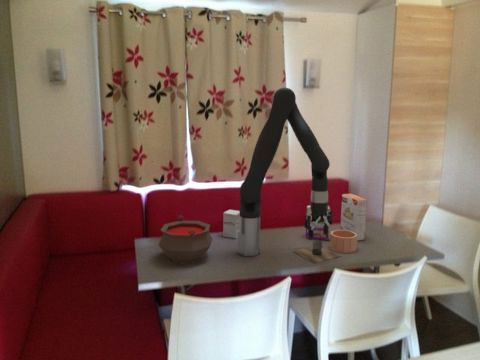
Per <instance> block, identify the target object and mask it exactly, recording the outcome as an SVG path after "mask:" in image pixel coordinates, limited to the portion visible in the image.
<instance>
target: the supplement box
mask: <svg viewBox="0 0 480 360" xmlns="http://www.w3.org/2000/svg"><path fill="white" fill-rule="evenodd" d="M222 214H223V215H222V216H223V222H222V223H223V225H222V226H223V227H222V231H223V232H222V236H223V237H225V238H232V239H238V232H239V231H240V210H235V209H228V210H225V211H224V212H223V213H222Z"/></svg>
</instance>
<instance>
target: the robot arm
mask: <svg viewBox="0 0 480 360" xmlns="http://www.w3.org/2000/svg"><path fill="white" fill-rule="evenodd" d="M296 99H297V98H296V94H295V91H293V90H292V89H291V88H289V87H281V88H279V89H277V90H276V91H275V92H274V94H273V97H272V104H271V107H270V111H269V115H268V118H267V120H266V122H265V123H264V125H263V128H262V129H261V131H260V134H259V136H258V138H257V141H256V144H255V146H254V148H253V149H254V150H253V153H252V156H251V161H250V166H249V169H248V172H247V174H246V176H245V178H244V181H243V182H242V183H241V185H240V187H239V191H238V192H239V193H238V194H239V197H240V198H239V199H240V200H239V203H240V204H239V211H240V231H239V232H238V237H237V253H239V254H240V255H242V256H243V257H252V256H253V257H254V256H257V255H259V254H260V252H261V250H260V249H261V207H262V206H261V203H262V202H261V201H262V187H263V183H264V180H265V177H266V174H267V172H268V171H269V168H270V167H271V165H272V163H273V160H274V158H275V156H276V154H277V151H278V149H279V146H280V141H281V139H282V135H283V131H284V127H285V124H286V122H288V124H289V125H290V126H291V129H292V131H293V133H294V135H295V137H296V140H297V141H298V143H299V145H300V146H301V149H302V150H303V151H304V153H305V154H306V155H307V157H308V159H309V161H310V164H311V165H310V166H311V167H310V168H311V190H310V191H311V193H310V205H311V208H310V209H311V215H306V214H305V215H304V226H303V227H304V228H305V229H306V228H307V229H308V236H309V237H311V238H313V228H314V227H315V226H316V225H317V224H318V223H323V224H324V230H323V233H324V234H328V232H329V233H330V225H333V224H334V223H333V222H334V221H333V218H334V217H333V216H334V215H333V211H332V210H330V211H328V206H329V180H328V179H329V178H328V175H327V174H328V169H330V164H331V163H330V160H329V158H328V156H327V155H326V153H325V152H324V150H323V149H322V147H321V145H320V143H319V141H318V139H317V137H316V136H315V134H314V132H313V130H312V129H311V127H310V126H309V123H307V121H306V120H305V119H304V117H303V116H302V115H303V114H301V112H300V109H299V107H298V105H297V101H296ZM326 216H327V219H326ZM313 221H314V223H313ZM307 224H308V225H307Z"/></svg>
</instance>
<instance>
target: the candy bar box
mask: <svg viewBox="0 0 480 360" xmlns="http://www.w3.org/2000/svg"><path fill="white" fill-rule="evenodd" d="M310 208H311V204H308V205H307V206H306V209H305V210H306V211H305V213H306V214H305V215H311V209H310ZM328 211H331V206H329V205H328ZM326 219H327V216H326ZM313 223H314V221H313ZM307 225H308V224H307ZM323 230H324V224H323V223H318V224H317V225H316V226H315V227H314V228H313V238H311V237H309V236H308V229H307V228H305V239H309V240H310V239H311V240H317V241H328V240H329V239H330V231H329V232H328V234H324V233H323Z"/></svg>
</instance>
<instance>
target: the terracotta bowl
mask: <svg viewBox="0 0 480 360" xmlns="http://www.w3.org/2000/svg"><path fill="white" fill-rule="evenodd" d="M357 236H358V235H357V234H356V233H355V232H352V231H348V230H340V229H336V230H335V229H334V230H331V231H329V249H330V251H332V252H333V251H334V252H335V253H341V254H342V253H343V254H351V253H354V252H356V251H357V249H358V241H357Z"/></svg>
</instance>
